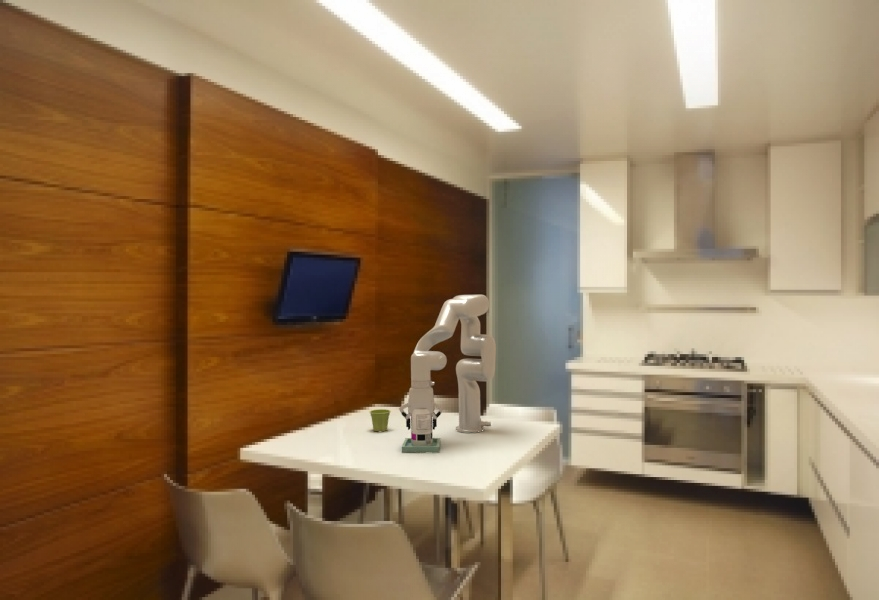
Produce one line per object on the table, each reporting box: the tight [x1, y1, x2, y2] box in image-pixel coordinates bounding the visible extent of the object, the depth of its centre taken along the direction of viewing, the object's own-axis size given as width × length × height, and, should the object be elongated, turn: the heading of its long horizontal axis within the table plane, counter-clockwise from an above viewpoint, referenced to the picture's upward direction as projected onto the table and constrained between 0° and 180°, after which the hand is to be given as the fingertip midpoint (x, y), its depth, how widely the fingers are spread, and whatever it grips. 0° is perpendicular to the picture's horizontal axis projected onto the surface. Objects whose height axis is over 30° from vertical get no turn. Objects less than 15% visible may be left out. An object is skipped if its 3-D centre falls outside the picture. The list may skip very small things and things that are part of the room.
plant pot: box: [369, 408, 392, 432], centre depth 241 cm, size 9×9×9 cm
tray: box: [401, 437, 441, 454], centre depth 209 cm, size 14×14×2 cm
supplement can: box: [410, 409, 434, 446], centre depth 210 cm, size 8×8×15 cm
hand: (421, 429), depth 210 cm, fingers open, 9 cm apart
